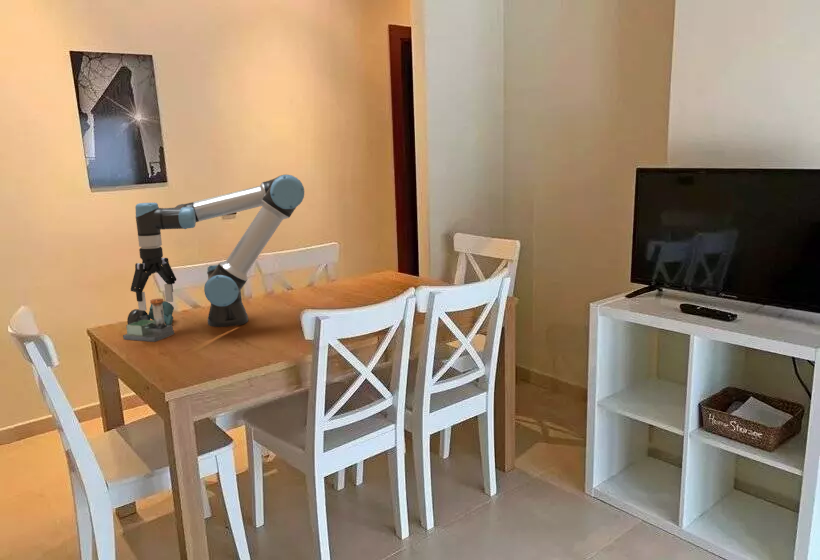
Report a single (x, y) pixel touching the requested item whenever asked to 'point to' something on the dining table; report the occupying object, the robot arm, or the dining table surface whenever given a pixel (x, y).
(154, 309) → the pin
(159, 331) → the grey base plate
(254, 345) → the dining table surface
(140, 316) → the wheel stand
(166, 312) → the dark teal rounded block
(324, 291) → the dining table surface
